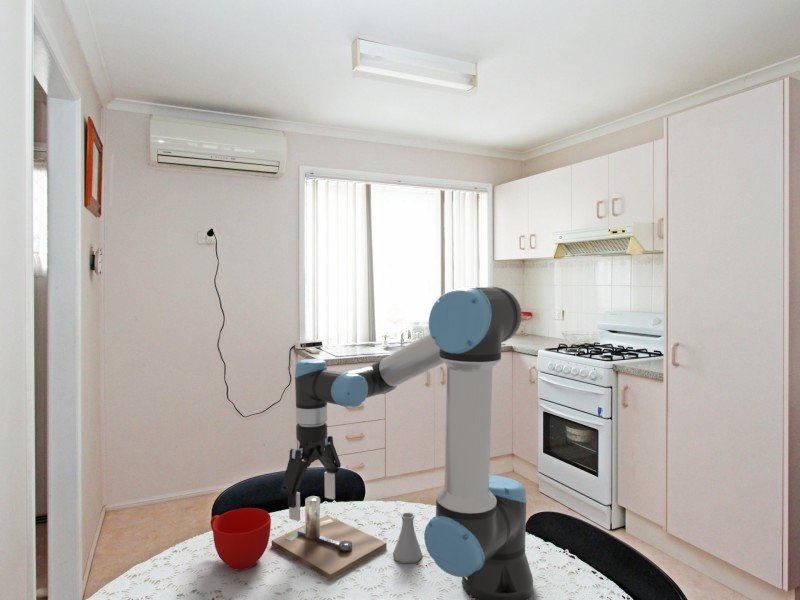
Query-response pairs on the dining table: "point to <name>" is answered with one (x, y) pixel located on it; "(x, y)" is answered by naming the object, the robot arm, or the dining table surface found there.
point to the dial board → (330, 548)
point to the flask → (407, 542)
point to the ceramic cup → (241, 536)
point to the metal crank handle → (314, 525)
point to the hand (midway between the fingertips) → (313, 508)
